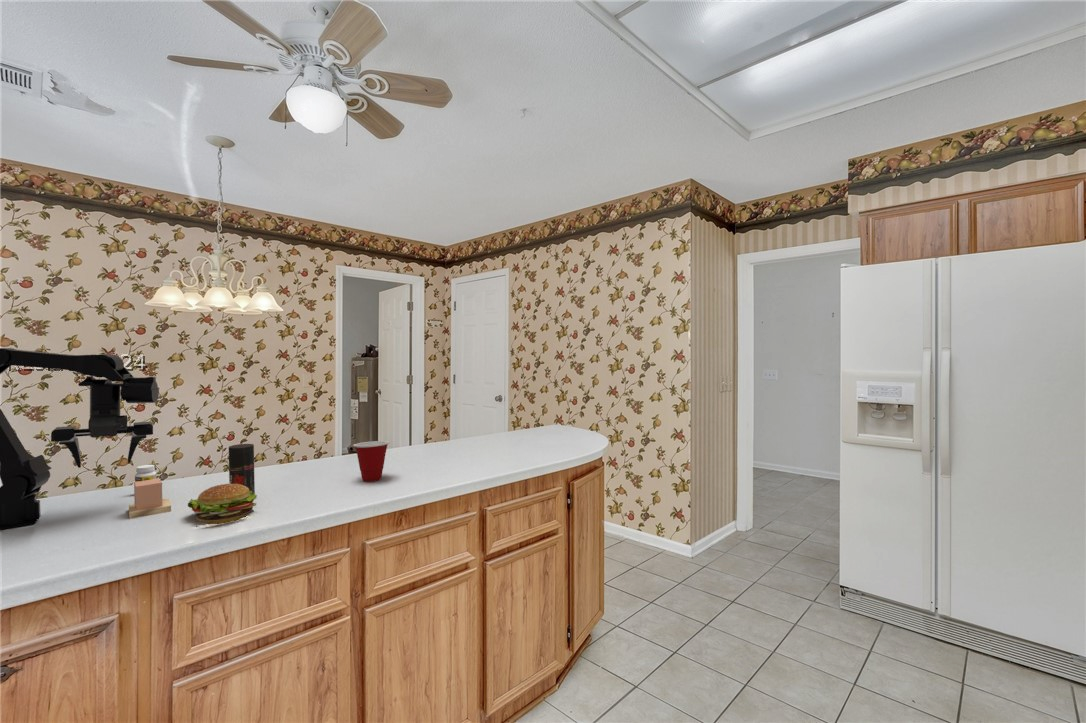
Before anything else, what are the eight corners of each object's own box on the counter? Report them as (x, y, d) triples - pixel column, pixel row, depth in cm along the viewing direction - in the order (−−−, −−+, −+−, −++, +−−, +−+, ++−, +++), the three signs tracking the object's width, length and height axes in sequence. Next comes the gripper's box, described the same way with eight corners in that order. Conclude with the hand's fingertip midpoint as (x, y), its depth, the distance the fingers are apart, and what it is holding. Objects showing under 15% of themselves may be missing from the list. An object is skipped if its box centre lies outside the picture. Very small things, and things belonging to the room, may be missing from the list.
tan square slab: (129, 519, 116) (129, 512, 116) (129, 510, 122) (128, 504, 122) (171, 511, 121) (170, 505, 121) (168, 503, 127) (168, 498, 127)
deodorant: (259, 496, 135) (258, 444, 135) (241, 503, 130) (240, 448, 129) (243, 495, 137) (242, 443, 136) (224, 501, 131) (223, 447, 131)
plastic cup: (383, 472, 161) (383, 437, 160) (393, 480, 152) (393, 443, 152) (349, 477, 155) (349, 441, 154) (358, 486, 146) (357, 447, 145)
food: (243, 503, 130) (243, 474, 130) (264, 515, 121) (264, 484, 121) (182, 517, 119) (181, 486, 119) (200, 531, 110) (199, 497, 110)
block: (136, 510, 117) (136, 486, 117) (134, 505, 121) (133, 482, 121) (162, 505, 121) (161, 482, 121) (159, 501, 124) (159, 478, 124)
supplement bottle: (131, 498, 133) (130, 468, 133) (140, 493, 138) (139, 464, 138) (151, 497, 135) (150, 467, 134) (160, 492, 139) (159, 463, 139)
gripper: (47, 409, 108) (47, 477, 109) (153, 405, 120) (153, 466, 121) (54, 404, 117) (54, 467, 117) (152, 400, 129) (152, 458, 129)
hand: (104, 464), depth 121 cm, fingers open, 9 cm apart
